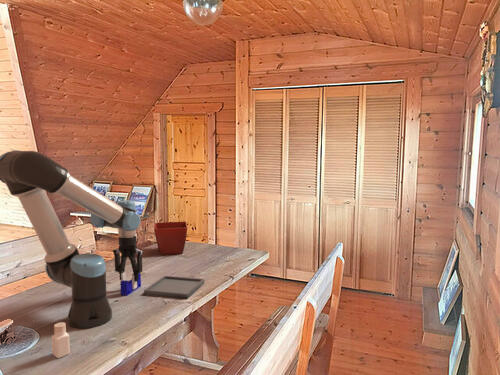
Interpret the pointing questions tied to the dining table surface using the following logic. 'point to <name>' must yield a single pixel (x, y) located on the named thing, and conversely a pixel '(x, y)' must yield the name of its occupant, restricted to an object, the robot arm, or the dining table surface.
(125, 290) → the cable clip
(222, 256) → the dining table surface
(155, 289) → the tray
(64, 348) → the salt shaker
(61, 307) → the dining table surface
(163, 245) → the plant pot
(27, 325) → the dining table surface
